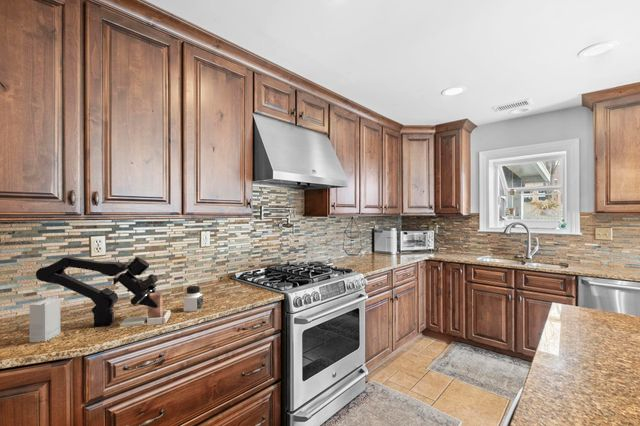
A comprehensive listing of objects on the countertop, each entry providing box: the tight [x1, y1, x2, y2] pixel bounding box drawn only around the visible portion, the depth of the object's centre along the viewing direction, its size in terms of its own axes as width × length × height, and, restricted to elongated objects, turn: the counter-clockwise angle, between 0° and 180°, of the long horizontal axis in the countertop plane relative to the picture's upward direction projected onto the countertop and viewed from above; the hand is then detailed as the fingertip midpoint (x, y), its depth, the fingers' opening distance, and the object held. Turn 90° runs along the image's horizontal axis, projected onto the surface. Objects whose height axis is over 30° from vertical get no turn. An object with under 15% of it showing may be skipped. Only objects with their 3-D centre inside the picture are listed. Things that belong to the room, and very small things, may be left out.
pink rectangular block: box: [147, 291, 164, 319], centre depth 141 cm, size 5×5×12 cm
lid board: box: [119, 315, 148, 328], centre depth 139 cm, size 9×9×1 cm
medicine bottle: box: [183, 284, 204, 312], centre depth 157 cm, size 7×7×12 cm
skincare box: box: [29, 298, 61, 343], centre depth 121 cm, size 8×6×15 cm
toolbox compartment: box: [146, 309, 171, 326], centre depth 142 cm, size 7×12×2 cm, turn 16°
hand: (158, 305), depth 142 cm, fingers closed on pink rectangular block, 5 cm apart
